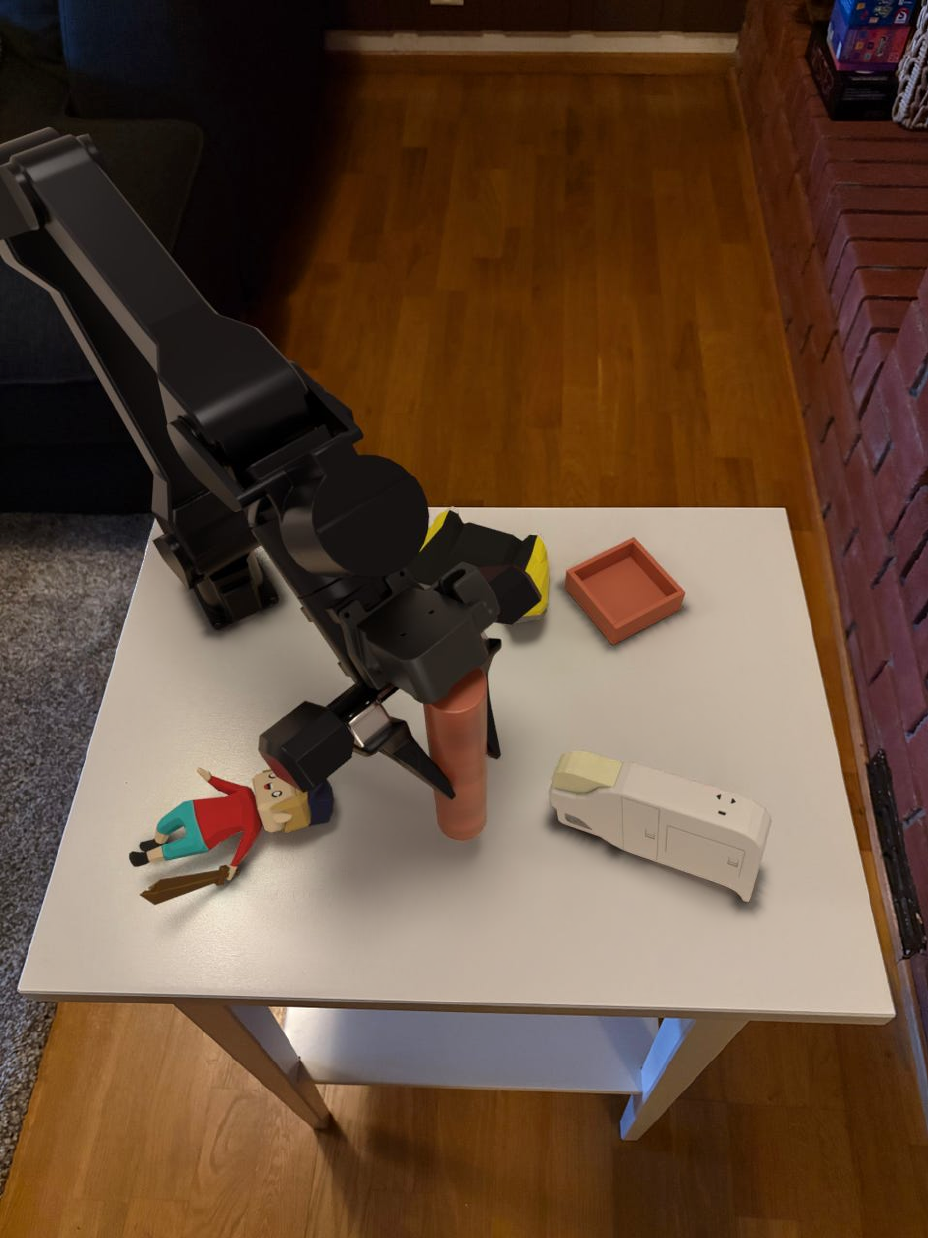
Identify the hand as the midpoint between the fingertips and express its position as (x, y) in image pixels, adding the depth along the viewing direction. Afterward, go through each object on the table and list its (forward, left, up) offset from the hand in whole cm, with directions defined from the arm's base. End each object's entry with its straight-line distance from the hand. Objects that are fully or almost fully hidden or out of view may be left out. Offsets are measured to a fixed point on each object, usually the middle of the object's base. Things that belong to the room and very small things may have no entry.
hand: (473, 777), depth 54 cm
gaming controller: (-22, +13, -14) cm, 29 cm away
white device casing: (+6, +11, -14) cm, 19 cm away
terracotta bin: (-14, +23, -13) cm, 30 cm away
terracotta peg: (-1, 0, -9) cm, 9 cm away
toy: (-10, -15, -14) cm, 22 cm away
